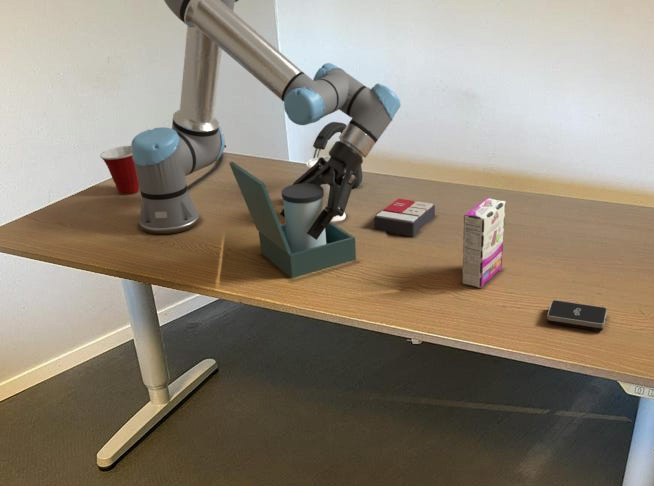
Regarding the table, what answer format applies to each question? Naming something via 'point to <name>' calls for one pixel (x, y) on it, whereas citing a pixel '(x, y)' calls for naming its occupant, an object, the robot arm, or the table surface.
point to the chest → (312, 252)
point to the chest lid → (260, 206)
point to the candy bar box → (483, 242)
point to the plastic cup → (122, 169)
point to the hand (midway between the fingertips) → (297, 226)
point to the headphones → (323, 139)
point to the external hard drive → (577, 315)
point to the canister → (302, 215)
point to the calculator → (404, 217)
